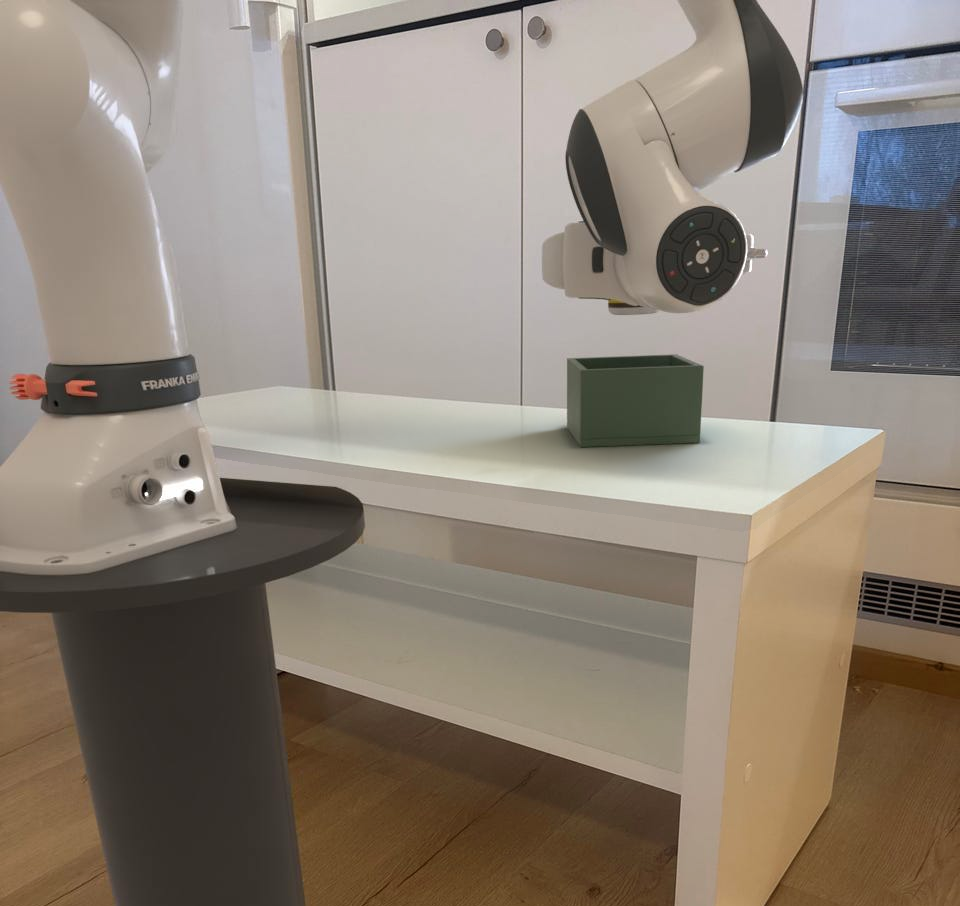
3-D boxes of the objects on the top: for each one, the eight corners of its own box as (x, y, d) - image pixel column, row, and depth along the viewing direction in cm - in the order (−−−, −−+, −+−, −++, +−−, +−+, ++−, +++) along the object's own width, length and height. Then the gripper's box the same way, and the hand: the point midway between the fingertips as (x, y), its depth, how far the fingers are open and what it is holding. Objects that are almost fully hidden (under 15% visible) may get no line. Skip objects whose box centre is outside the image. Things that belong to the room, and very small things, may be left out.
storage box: (699, 442, 99) (704, 365, 96) (580, 447, 99) (580, 370, 96) (673, 423, 111) (676, 354, 108) (566, 427, 111) (567, 358, 108)
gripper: (776, 215, 85) (733, 221, 98) (549, 223, 85) (536, 228, 98) (770, 289, 87) (730, 286, 100) (550, 298, 87) (537, 293, 100)
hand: (633, 258), depth 99 cm, fingers closed on supplement bottle, 5 cm apart
